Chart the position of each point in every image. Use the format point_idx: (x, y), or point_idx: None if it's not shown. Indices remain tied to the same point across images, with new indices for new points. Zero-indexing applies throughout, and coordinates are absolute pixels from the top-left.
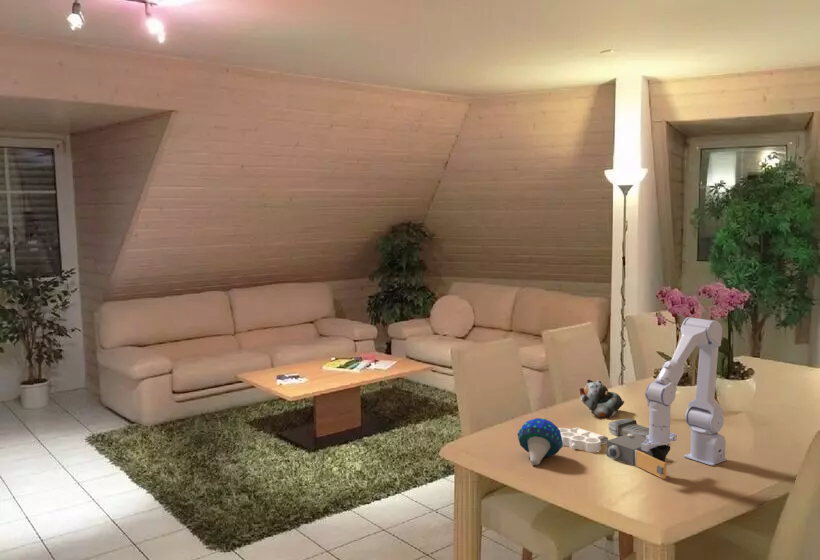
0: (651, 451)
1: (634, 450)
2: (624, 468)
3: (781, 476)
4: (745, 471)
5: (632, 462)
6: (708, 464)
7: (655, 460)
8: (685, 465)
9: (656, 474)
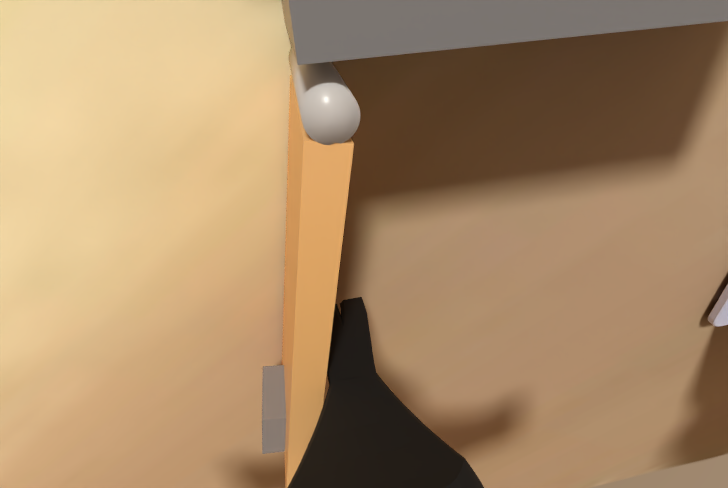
0: (306, 459)
1: (326, 58)
2: (111, 28)
3: (715, 450)
4: (707, 397)
5: (284, 12)
6: (714, 308)
7: (288, 424)
8: (636, 250)
9: (283, 327)
